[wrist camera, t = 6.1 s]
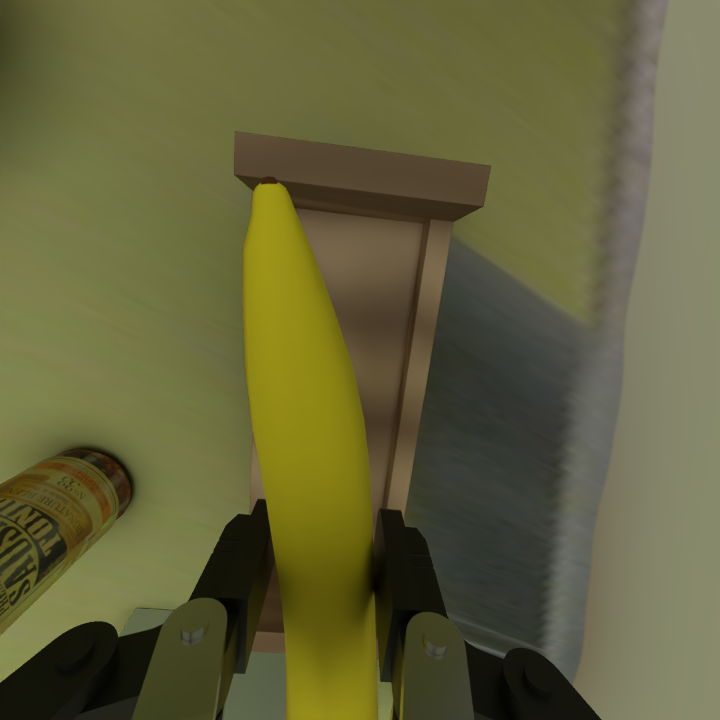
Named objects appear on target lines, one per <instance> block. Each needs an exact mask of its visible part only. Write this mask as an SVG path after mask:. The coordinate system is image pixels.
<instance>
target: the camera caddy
mask: <svg viewBox="0 0 720 720" xmlns="http://www.w3.org/2000/svg"><path fill="white" fill-rule="evenodd" d="M173 611H174V610H158V609H141V608H136V610H135V611H134V613H133V614H132V616H131V618H130V619H129V621H128V622H127V624H126V625H125V627H124V628H123V630H122V632H121V633H120V635H119V636H118V637H121V636H125V635H129V634H133V633H137V632H141V631H145V630H149V629H152V628H155V627H157V626H159V625H161V624H163V623H164V622H165V621H166V619H167V618H168V617H169V615H170V614H171V613H172V612H173ZM224 720H286V656H285V654H283V653H265V652H251V654H250V657H249V661H248V665H247V669H246V673H245V674H235V673H234V675H233V679H232V682H231V686H230V689H229V692H228V696H227V699H226V702H225V713H224Z"/></svg>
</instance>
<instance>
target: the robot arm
mask: <svg viewBox="0 0 720 720" xmlns="http://www.w3.org/2000/svg"><path fill="white" fill-rule="evenodd" d="M373 549H374V584H375V586H374V598H375V612H376V626H377V640H378V653H379V667H380V681H381V682H392V692H393V705H392V710H391V719H390V720H601V719H600V718H599V716H598V715H597V714H596V713H595V712H594V711H593V709H592V708H591V707H590V706H589V705H588V704H587V703H586V701H585V700H584V699H583V698H582V697H581V695H580V694H579V693H578V692H577V691H576V690H575V688H574V687H573V686H572V685H571V684H570V683H569V681H568V680H567V679H566V678H565V677H564V676H563V674H562V673H561V672H560V671H559V670H558V669H557V668H556V667H555V666H554V664H552V663H551V662H550V661H549V660H548V659H546V658H545V657H544V656H542V655H541V654H539V653H537V652H535V651H533V650H530V649H526V648H515V649H512V650H510V651H509V652H508V653H507V654H506V656H505V658H504V659H502V658H499V657H497V656H494V655H492V654H489V653H487V652H484V651H482V650H479V649H477V648H475V647H473V646H472V645H470V644H469V643H467V642H466V641H465V640H464V639H463V637H462V635H461V633H460V632H459V630H458V629H457V628H456V626H455V625H454V624H453V623H452V622H451V621H449V619H448V616H447V613H446V610H445V606H444V603H443V599H442V595H441V592H440V588H439V585H438V581H437V578H436V574H435V571H434V569H433V564H432V560H431V557H430V553H429V549H428V546H427V542H426V540H425V538H424V537H423V536H422V535H421V533H420V532H419V531H418V529H417V528H411V527H405V525H404V520H403V516H402V512H401V510H393V509H381V508H379V510H378V515H377V522H376V529H375V536H374V543H373ZM274 563H275V555H274V549H273V542H272V536H271V530H270V523H269V517H268V511H267V504H266V499H258V500H257V501H256V504H255V506H254V509H253V511H252V513H251V515H245V514H238V515H237V516H236V517H235V518H233V519H232V520H231V521H230V522H229V523H228V524H227V525H226V526H225V528H224V530H223V532H222V534H221V536H220V538H219V542H217V544H216V546H215V548H214V551H213V553H212V554H211V556H210V559H209V561H208V563H207V565H206V567H205V569H204V571H203V573H202V575H201V577H200V579H199V581H198V583H197V585H196V587H195V589H194V591H193V593H192V595H191V597H190V599H189V600H188V602H186V603H184V604H183V605H181V606H179V607H178V608H177V609H175V610H174V611H173V612H172V613H171V614H170V615H169V617H168V618H167V619H166V621H165V622H164V623H163V624H161V625H159V626H157V627H155V628H152V629H149V630H145V631H141V632H137V633H133V634H129V635H125V636H121V637H118V634H117V631H116V629H115V627H114V626H112V625H111V624H109V623H107V622H102V621H95V622H89V623H85V624H82V625H79V626H76V627H74V628H72V629H70V630H68V631H66V632H65V633H63V634H62V635H60V636H59V637H57V638H56V639H55V640H53V641H52V642H51V643H50V644H48V645H47V646H46V647H45V648H43V649H42V650H41V651H40V652H38V653H37V654H36V655H35V656H33V657H32V658H31V659H30V660H28V661H27V662H26V663H25V664H23V665H22V666H21V667H20V668H18V669H17V670H16V671H15V672H13V673H12V674H11V675H10V676H8V677H7V678H6V679H5V680H3V681H2V682H1V683H0V720H224V713H225V702H226V699H227V696H228V692H229V689H230V686H231V682H232V679H233V675H234V673H235V674H245V673H246V669H247V665H248V661H249V657H250V654H251V650H252V646H253V642H254V639H255V635H256V631H257V627H258V623H259V620H260V616H261V612H262V608H263V605H264V601H265V597H266V593H267V589H268V586H269V582H270V578H271V574H272V570H273V567H274Z"/></svg>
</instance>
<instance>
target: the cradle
mask: <svg viewBox="0 0 720 720" xmlns="http://www.w3.org/2000/svg"><path fill="white" fill-rule="evenodd" d="M490 169H491V166H490V165H482V164H475V163H467V162H460V161H453V160H445V159H438V158H430V157H423V156H415V155H408V154H401V153H393V152H386V151H378V150H371V149H363V148H356V147H349V146H341V145H334V144H326V143H319V142H311V141H304V140H296V139H289V138H282V137H274V136H267V135H259V134H252V133H244V132H237V131H235V150H234V175H235V176H236V177H238V178H239V179H240V180H241V181H242V182H243V183H245V184H246V185H247V186H248V187H249V188H250V189H252V190H253V191H254V189H255V188H256V187H257V186H258V185H259V184H260V183H261V181H262V179H263V177H267V176H271V177H275V178H276V180H277V181H278V182H279V183H280V184H281V185H283V186H284V187H286V189H287V191H288V193H289V195H290V198H291V200H292V203H293V205H294V208H295V211H296V213H297V215H298V218H299V220H300V222H301V225H302V227H303V229H304V232H305V234H306V236H307V239H308V241H309V243H310V245H311V248H312V251H313V253H314V256H315V259H316V261H317V264H318V267H319V270H320V272H321V275H322V278H323V280H324V283H325V286H326V289H327V291H328V294H329V297H330V299H331V302H332V305H333V308H334V310H335V314H336V317H337V320H338V323H339V326H340V329H341V332H342V335H343V338H344V341H345V344H346V347H347V350H348V353H349V357H350V360H351V363H352V366H353V369H354V374H355V379H356V383H357V388H358V393H359V397H360V402H361V407H362V411H363V416H364V423H365V431H366V440H367V449H368V457H369V467H370V484H371V500H372V521H373V543H374V536H375V529H376V522H377V515H378V510H379V508H381V509H393V510H401V512H402V516H403V520H404V515H405V509H406V503H407V497H408V491H409V485H410V479H411V473H412V467H413V461H414V455H415V449H416V443H417V437H418V431H419V425H420V419H421V413H422V407H423V401H424V395H425V389H426V383H427V377H428V371H429V365H430V359H431V353H432V347H433V341H434V335H435V329H436V323H437V317H438V311H439V305H440V299H441V293H442V287H443V281H444V275H445V269H446V263H447V257H448V251H449V245H450V239H451V233H452V227H453V222H454V221H456V220H458V219H460V218H462V217H464V216H466V215H468V214H470V213H472V212H474V211H476V210H478V209H479V208H481V207H483V206H484V201H485V196H486V191H487V185H488V180H489V174H490ZM258 499H266V498H265V493H264V487H263V482H262V477H261V471H260V466H259V460H258V455H257V449H256V444H255V439H254V433H253V435H252V462H251V488H250V514H249V515H251V513H252V511H253V509H254V506H255V504H256V501H257V500H258ZM375 624H376V612H375ZM251 652H265V653H283V654H285V632H284V621H283V610H282V602H281V594H280V587H279V581H278V574H277V568H276V561H275V563H274V567H273V570H272V574H271V578H270V582H269V586H268V589H267V593H266V597H265V601H264V605H263V608H262V612H261V616H260V620H259V623H258V627H257V631H256V635H255V639H254V642H253V646H252V650H251ZM376 659H379V653H378V640H377V626H376Z"/></svg>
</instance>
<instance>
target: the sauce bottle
mask: <svg viewBox="0 0 720 720" xmlns="http://www.w3.org/2000/svg"><path fill="white" fill-rule="evenodd" d="M130 499H131V486H130V483H129V481H128V478H127V475H126V474H125V472H124V471H123V469H122V468H121V466H120V465H119V464H117V463H116V462H115V460H113V459H111V458H109V457H108V456H105V455H103V454H101V453H98V452H94V451H89V450H86V449H77V450H72V451H69V452H64V453H61V454H59V455H57V456H55V457H52V458H48V459H45V460H43V461H41V462H39V463H37V464H36V465H34V466H32V467H30V468H28V469H27V470H25V471H23V472H21V473H20V474H18V475H16V476H15V477H13V478H11V479H9V480H7V481H6V482H4V483H2V484H0V635H1V634H2V633H3V632H4V631H5V630H6V629H7V628H8V627H10V626H11V625H12V624H13V623H14V622H15V621H16V620H17V619H18V618H19V617H20V616H21V615H22V614H23V613H24V612H25V611H26V610H27V609H28V608H29V607H30V606H31V605H32V604H33V603H34V602H35V601H36V600H37V599H38V598H39V597H40V596H41V595H42V594H43V593H44V592H45V591H47V590H48V589H49V588H50V587H51V586H52V585H53V584H54V583H55V582H56V581H57V580H58V579H59V578H60V577H61V576H62V575H63V574H64V573H65V572H66V571H67V570H68V569H69V568H70V567H71V566H72V565H73V564H74V563H75V562H76V561H77V560H78V559H79V558H80V557H81V556H82V555H83V554H84V553H85V552H86V551H87V550H88V549H89V548H91V547H92V546H93V545H94V544H95V543H96V542H97V541H98V540H99V539H100V538H101V537H102V536H103V535H104V534H105V533H106V532H107V531H108V530H109V529H110V528H111V527H112V525H113V524H114V522H115V520H117V519H118V518H119V517H120V516H121V515H122V514H123V513H124V511H125V510H126V508H127V506H128V505H129V501H130Z"/></svg>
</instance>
